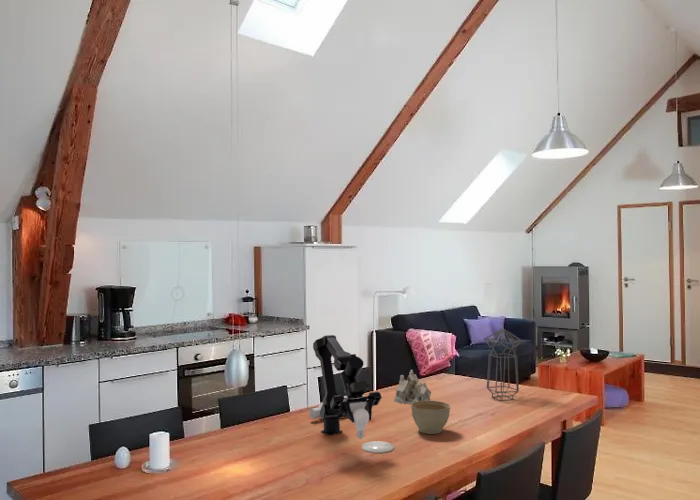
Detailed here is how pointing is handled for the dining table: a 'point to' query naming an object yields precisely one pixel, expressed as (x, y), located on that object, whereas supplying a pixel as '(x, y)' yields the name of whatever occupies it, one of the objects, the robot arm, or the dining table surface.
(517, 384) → the geometric lantern
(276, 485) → the dining table surface
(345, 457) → the dining table surface
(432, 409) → the planter bowl
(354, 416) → the lightbulb
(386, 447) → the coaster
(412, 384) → the ceramic cottage
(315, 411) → the bottle
